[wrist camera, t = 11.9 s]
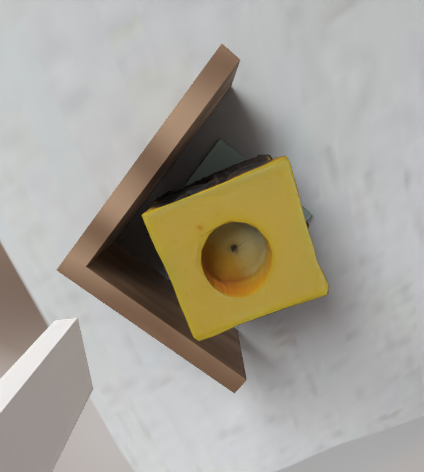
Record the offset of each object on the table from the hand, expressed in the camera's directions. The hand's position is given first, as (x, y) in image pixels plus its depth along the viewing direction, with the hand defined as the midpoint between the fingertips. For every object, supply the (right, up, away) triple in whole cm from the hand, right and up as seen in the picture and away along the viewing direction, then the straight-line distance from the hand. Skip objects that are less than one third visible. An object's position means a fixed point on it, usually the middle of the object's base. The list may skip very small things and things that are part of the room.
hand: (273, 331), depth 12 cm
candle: (0, +4, +21) cm, 21 cm away
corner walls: (-1, +5, +20) cm, 21 cm away
